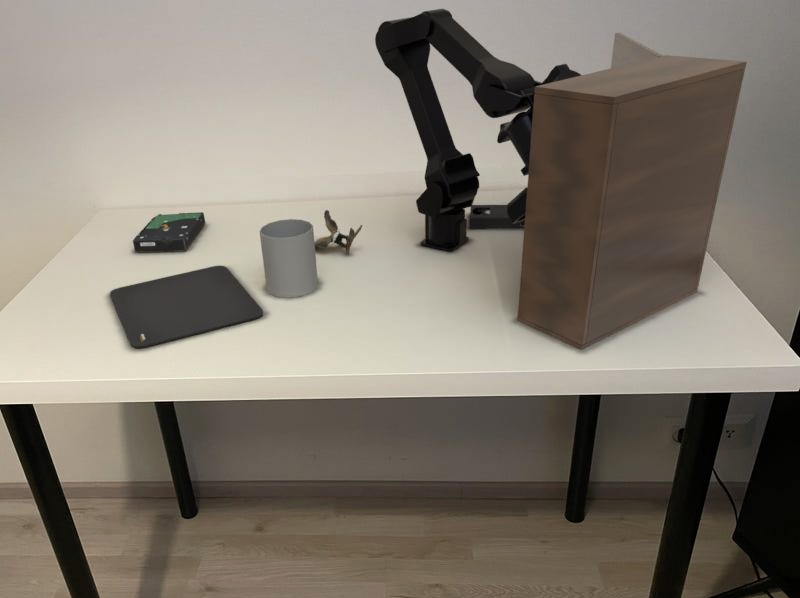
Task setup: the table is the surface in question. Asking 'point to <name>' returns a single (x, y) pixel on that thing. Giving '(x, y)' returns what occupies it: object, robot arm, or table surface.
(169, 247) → the disk drive
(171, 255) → the table surface
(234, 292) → the mouse pad
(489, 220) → the vhs tape
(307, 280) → the cup
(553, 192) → the cupboard
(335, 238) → the eagle figurine
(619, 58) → the cupboard door
